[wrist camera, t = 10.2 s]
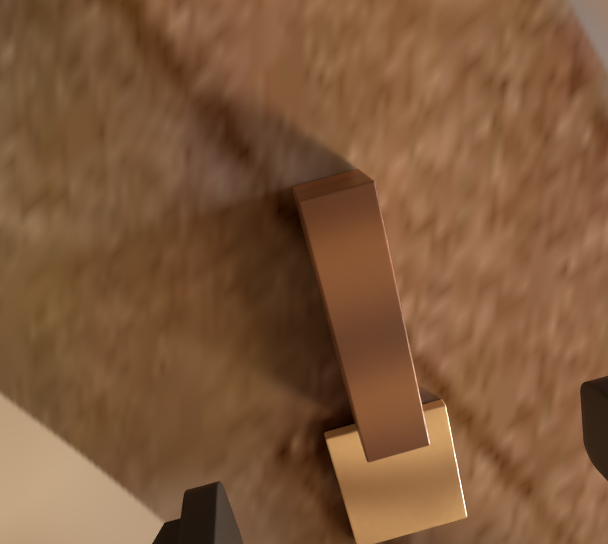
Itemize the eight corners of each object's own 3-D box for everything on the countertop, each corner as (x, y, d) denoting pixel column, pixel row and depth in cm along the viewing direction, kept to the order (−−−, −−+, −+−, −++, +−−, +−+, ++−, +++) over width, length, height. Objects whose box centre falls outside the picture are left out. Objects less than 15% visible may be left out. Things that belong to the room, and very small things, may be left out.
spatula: (254, 196, 18) (256, 213, 16) (395, 157, 18) (417, 169, 16) (355, 540, 24) (367, 589, 22) (463, 509, 24) (487, 555, 22)
